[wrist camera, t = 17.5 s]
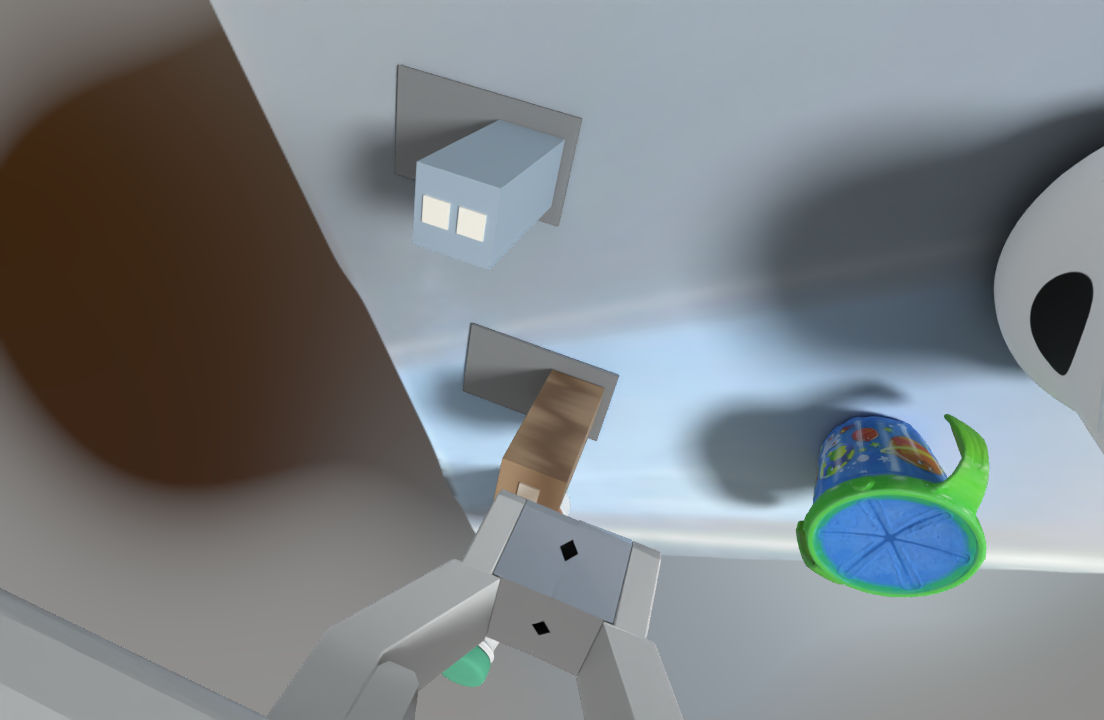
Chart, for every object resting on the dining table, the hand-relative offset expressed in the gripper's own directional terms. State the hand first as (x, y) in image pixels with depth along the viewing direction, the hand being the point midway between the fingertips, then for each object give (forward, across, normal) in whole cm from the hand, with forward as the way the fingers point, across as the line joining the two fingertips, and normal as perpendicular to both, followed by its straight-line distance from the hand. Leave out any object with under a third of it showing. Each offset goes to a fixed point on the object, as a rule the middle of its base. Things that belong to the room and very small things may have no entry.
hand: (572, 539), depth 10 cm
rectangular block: (+34, +12, +5) cm, 37 cm away
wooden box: (+34, +4, +25) cm, 42 cm away
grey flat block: (+34, +16, +5) cm, 38 cm away
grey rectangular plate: (+34, +8, +25) cm, 43 cm away
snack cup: (+34, -20, +19) cm, 44 cm away
